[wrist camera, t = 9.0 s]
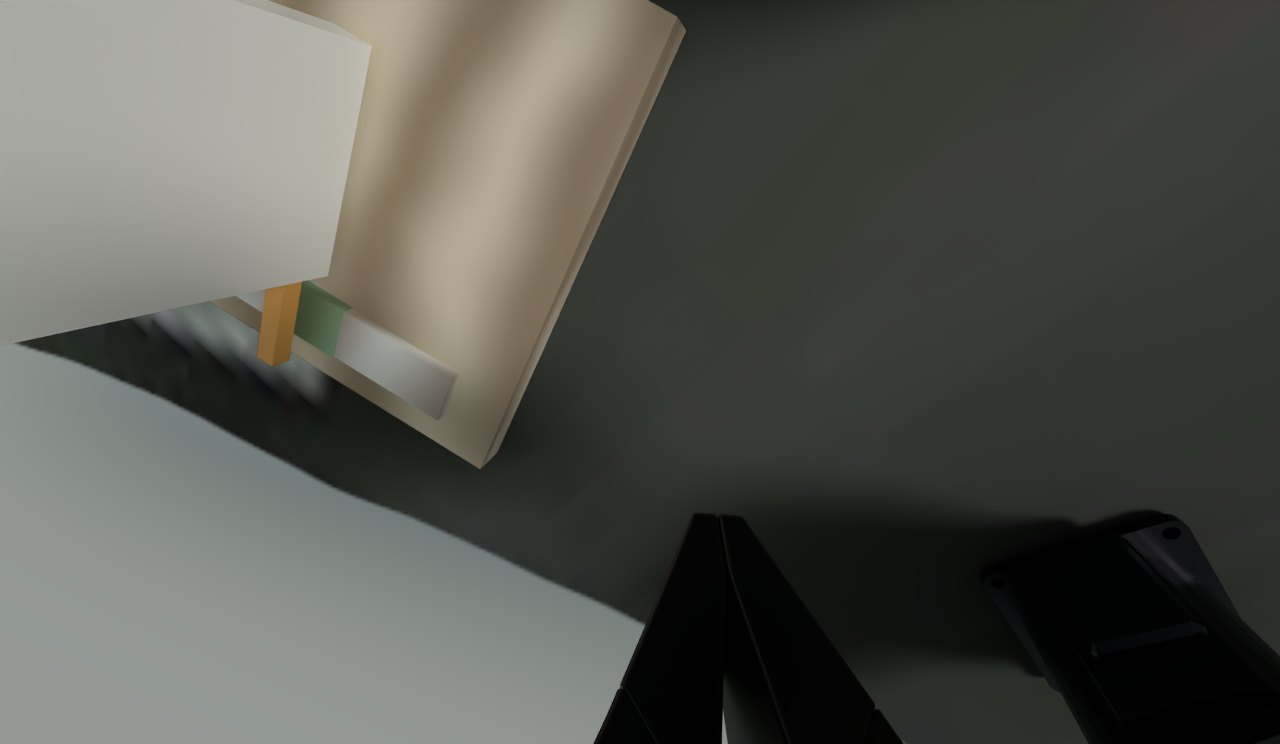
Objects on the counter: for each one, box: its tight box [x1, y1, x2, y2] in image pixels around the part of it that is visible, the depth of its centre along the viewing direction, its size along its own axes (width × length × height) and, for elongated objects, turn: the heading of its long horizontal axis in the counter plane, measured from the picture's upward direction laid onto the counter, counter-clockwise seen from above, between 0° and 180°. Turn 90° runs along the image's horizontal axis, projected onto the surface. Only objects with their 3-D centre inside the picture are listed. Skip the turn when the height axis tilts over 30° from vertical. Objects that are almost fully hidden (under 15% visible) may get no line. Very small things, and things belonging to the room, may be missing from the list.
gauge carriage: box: [0, 0, 372, 367], centre depth 15 cm, size 6×13×11 cm, turn 152°
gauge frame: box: [209, 0, 686, 469], centre depth 15 cm, size 26×19×12 cm
